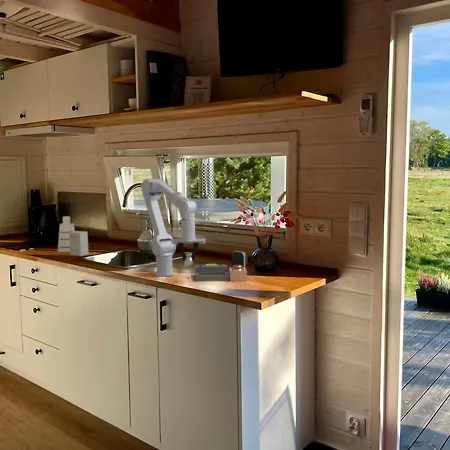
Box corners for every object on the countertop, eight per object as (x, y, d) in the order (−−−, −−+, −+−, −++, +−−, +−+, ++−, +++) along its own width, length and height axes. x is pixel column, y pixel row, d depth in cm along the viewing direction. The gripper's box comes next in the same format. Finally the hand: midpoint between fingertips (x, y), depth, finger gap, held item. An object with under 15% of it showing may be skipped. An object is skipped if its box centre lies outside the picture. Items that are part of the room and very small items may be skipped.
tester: (195, 276, 221) (195, 263, 220) (226, 275, 222) (226, 263, 221) (196, 282, 208) (195, 269, 207) (229, 282, 209) (228, 269, 208)
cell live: (184, 265, 213) (184, 252, 213) (193, 265, 214) (192, 252, 213) (184, 267, 210) (184, 253, 209) (193, 267, 210) (192, 253, 209)
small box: (88, 254, 278) (87, 231, 276) (80, 256, 272) (79, 232, 271) (77, 253, 281) (76, 230, 280) (69, 255, 276) (68, 232, 274)
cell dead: (233, 278, 213) (233, 264, 213) (241, 278, 214) (241, 264, 213) (233, 280, 210) (233, 266, 209) (242, 280, 210) (242, 266, 209)
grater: (57, 252, 285) (56, 217, 283) (59, 249, 296) (57, 216, 293) (76, 251, 288) (75, 217, 286) (77, 248, 298) (76, 215, 296)
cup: (228, 278, 215) (228, 267, 214) (244, 278, 216) (244, 267, 215) (230, 282, 208) (230, 271, 208) (246, 282, 209) (246, 270, 208)
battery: (249, 276, 219) (249, 251, 218) (243, 278, 216) (243, 252, 215) (237, 274, 224) (237, 249, 222) (231, 275, 221) (231, 250, 220)
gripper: (170, 230, 205) (171, 262, 207) (205, 229, 206) (205, 261, 208) (171, 228, 212) (171, 259, 214) (204, 227, 213) (205, 258, 215)
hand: (188, 260), depth 211 cm, fingers closed on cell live, 4 cm apart
